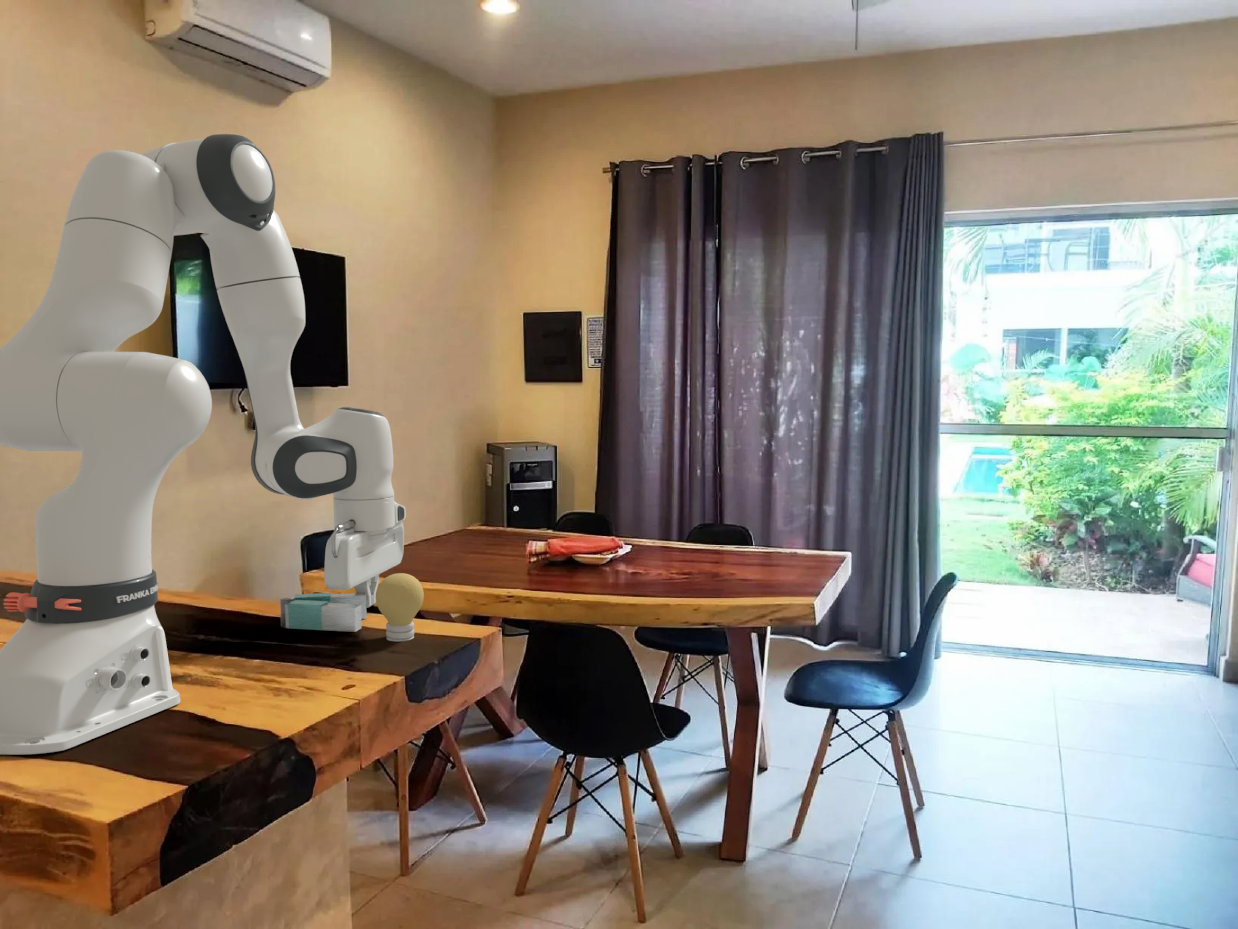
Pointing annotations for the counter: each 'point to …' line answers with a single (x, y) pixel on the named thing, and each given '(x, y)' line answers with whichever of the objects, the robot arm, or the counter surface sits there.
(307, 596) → the tong arm
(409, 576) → the light bulb
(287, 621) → the tongs fixed arm
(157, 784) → the counter surface
